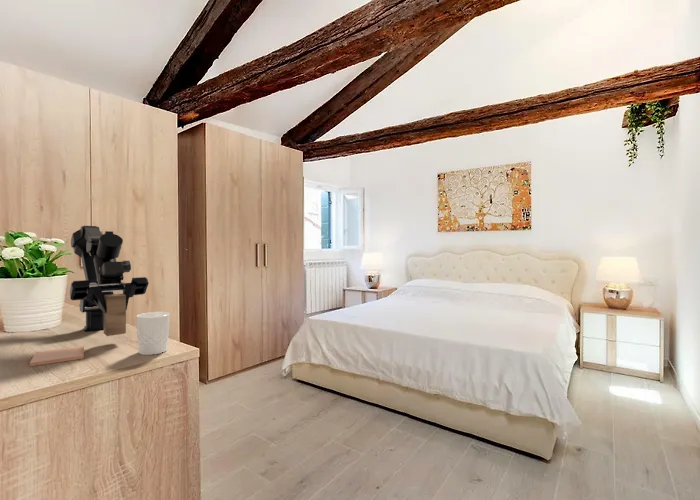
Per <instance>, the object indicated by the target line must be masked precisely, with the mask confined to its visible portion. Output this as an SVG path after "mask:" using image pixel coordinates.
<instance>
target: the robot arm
mask: <svg viewBox="0 0 700 500" xmlns="http://www.w3.org/2000/svg"><path fill="white" fill-rule="evenodd" d="M80 226H81V227H80V229H78V230H76V231H74V232H73V233H72V235H71V237H70V247H71V249H73V253H74V254H75V255H77V256H78V257H79V258H80V259H81V264H82V270H83V272H84V278H85V280H73V281H72V282H71V284H70V289H69V298H70V300H71V301H79V306H78V307H79V312H81V313H85V325H84V330H83V331H84V332H89V331H99V330H104V313H106V312H107V309H106V304H105V301H104V295H110V294H114V292H118V291H119V292H120V291H121V292H122V294H124V295H126V311H127V310H128V304H129V300H130V298H133V297H134V296H138V295H139V296H140V295H142V296H143V295H145V294H146V292H147V288H148V287H149V286H148V285H149V284H150V283H149V279H148V277H145V276H139V277H137V276H136V277H132V279H131V282H122V281H123V280H124V274H125V273H130V271H131V270H132V267H131V266H132V265H131V261H130V260H122V261H117V259H118V258H119V256H120V253H121V250H122V245H123V243H124V240H123V237H121V236H120V235H118V234H115V233H114V231H108V230H105V231H104V233H103V232H101V230H100V227H99V226H97V225H80Z"/></svg>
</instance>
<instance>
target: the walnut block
mask: <svg viewBox="0 0 700 500" xmlns="http://www.w3.org/2000/svg"><path fill="white" fill-rule="evenodd" d="M104 301H105V304H106V309H107V312H106V313H104V329H103V334H104V335H105V336H106V337H111V336H116V335H124V334H126V333H127V331H126V330H127V310H126V295H124V294H123V293H113V294H110V295H104Z"/></svg>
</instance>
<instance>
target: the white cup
mask: <svg viewBox="0 0 700 500" xmlns="http://www.w3.org/2000/svg"><path fill="white" fill-rule="evenodd" d="M170 316H171V313H170V312H168V311H149V312H143V313H140V314H137V315H136V316H135V318H136V334H137V347H138V353H139V355H142V356H152V355H153V354H154V355H159V354H162V352H163V353H165V352H167V350H168V345H169V334H170V333H169V332H170V318H171V317H170Z"/></svg>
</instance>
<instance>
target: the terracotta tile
mask: <svg viewBox="0 0 700 500" xmlns="http://www.w3.org/2000/svg"><path fill="white" fill-rule="evenodd" d="M84 357H85V345H80V346H79V345H78V346H72V347H70V346H69V347H64V348H56V349H55V348H54V349H47V350H42V351H40V350H39V351H35V352H34V354H33V355H32V358H31V360H30V362H29V367H34V366H41V365H49V364H57V363H61V362H62V363H63V362H69V361H75V360H84Z"/></svg>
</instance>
